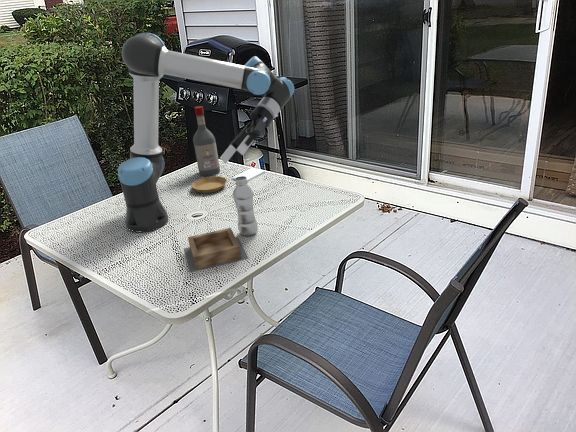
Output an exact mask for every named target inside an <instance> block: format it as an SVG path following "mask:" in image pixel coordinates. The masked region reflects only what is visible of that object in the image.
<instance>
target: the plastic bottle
mask: <svg viewBox="0 0 576 432" xmlns="http://www.w3.org/2000/svg"><path fill="white" fill-rule="evenodd" d="M234 181H235V187H234V189H233V192H232V197H233V200H234V203H235V207H236V208H235V209H236V211H237V229H238V232H239V233H240V235H242V236H244V237H249V236H253V235H255V234H256V233H257V232H258V229H259V228H258V227H259V226H258V222H257V218H256V216H255V211H254V193H253V190H252V189H251V187H250V185H248V182H247V178H246V177H245V176H240V177H237V178H235V180H234Z"/></svg>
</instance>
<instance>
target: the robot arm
mask: <svg viewBox="0 0 576 432" xmlns="http://www.w3.org/2000/svg"><path fill="white" fill-rule="evenodd" d="M121 59H122V60H123V61H122V62H123V63H124V64H125V66H126V67H127V68H128V74H129V76H131V78H132V79H133V138H134V139H133V144H132V146H131V147H130V148H129V158H128V159H127V160H124V161H122V162H121V163H120V164H119V166H118V167H117V174H118V179H119V182H120V183H119V184H120V186H121V189H122V194H123V197H124V202H125V205H126V213H125V221H124V222H125V226H126V229H127V228H128V229H130V230H133V231H147V232H150V231H149V230H152V231H154V230H153V229H155V230H157V229H156V228H158V229H160V228H162V227H164V225H166V224H167V223H168V222H169V215H168V212H167V210H166V209H165V206H164V205H163V203H162V202H161V201H160V197H159V192H158V188H157V187H158V186H157V183H158V181H159V179H160V177H161V176H162V174H163V173H164V171H165V170H164V169H165V160H164V159H165V158H164V156H163V148H162V147H161V146H160V145H159V119H160V118H159V117H160V116H159V114H160V113H159V112H160V111H159V110H160V109H159V105H160V104H159V103H160V102H159V101H160V100H159V99H160V98H159V97H160V94H159V93H160V89H159V88H160V85H159V83H160V79H162V78H163V77H164V75H166V76H167V75H168V76H172V77H176V78H177V77H178V78H182V79H188V80H192V81H197V82H201V83H208V84H213V85H217V86H223V87H228V88H233V89H239V90H243V91H248V92H249V93H252V94H253V95H257V96H260V95H264V96H263V97H262V98H261V100H260V101H259V102H258V104H257V105H256V106H255V107H254V109H253V110H252V111H251V112H250V115H249V116H250V119H251V121H249V122H248V123H247V124H246V125H245V127H243V129H242V130H240V132H239V133H238V134H237V135H236V136H235V137H234V139H232V141H231V142H230V143H229V144H228V147H227V148H226V149H225V151H224V152H223V153H222V155H221V156H220V157H219V159H220V161H222V162H223V163H224V164H227V163H228V161H229V160H230V159H231V158H232V157H233V155H235V153H237V152H238V153H239V154H241V156H243V155H245V154H246V152H247V150H249V148H250V147H251V145H252V144H253V143H254V142H255V140H256V139H258V138H259V137H261V134H262V133H263V131H264V129H267V128H268V127H270V125H271V124H272V123H273V121H274V120H275V118H278V116H279V113H280V112H281V110H282V109H283V107H285V106H286V104H287V103H288V102H289V101H290V99H291V97H292V95H294V92H295V85H294V83H293V82H292V81H291V80H290V79H288V78H287V77H284V76H281V77H278V76H276V75H275V74H274V73H273V72H272V71H271V70H270V69H269V68H268V66H267V65H266V64H265V63H264V62H263V60H261V59H260V58H259V57H258V56H256V55H255V56H252V57H251V58H250V59H249V60H248V61H247V62H246V63H245V64H244V65H242V64H236V63H233V62H227V61H221V60H219V59H218V60H217V59H213V58H208V57H204V56H198V55H194V54H193V55H192V54H189V53H188V54H187V53H183V52H177V51H173V50H169V49H167V47H166V45H165V43H164V41H163V40H162V39H161V38H160V37H159V36H158V35H156V34H154V33H150V32H139V33H137V34H136V35H133V36H131V37H129V38H128V39H127V40H125V42H124V43H123V45H122V47H121ZM161 226H162V227H161ZM159 227H160V228H159ZM128 229H127V230H128Z"/></svg>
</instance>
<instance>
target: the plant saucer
mask: <svg viewBox="0 0 576 432" xmlns="http://www.w3.org/2000/svg"><path fill="white" fill-rule="evenodd" d="M227 181H228V179H227V178H226V177H225V176H224V177H223V176H220V175H219V176H218V175H211V176H204V177H202V178H199V179H198V178H197V180H194V181H193V182H192V183H191V188H192V189H194V190H195V191H196V192H198V193H201V194H210V193H211V194H212V193H215V192H218V191H220V190H221V189H223V188H224V187H225V185H226V184H227Z"/></svg>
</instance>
